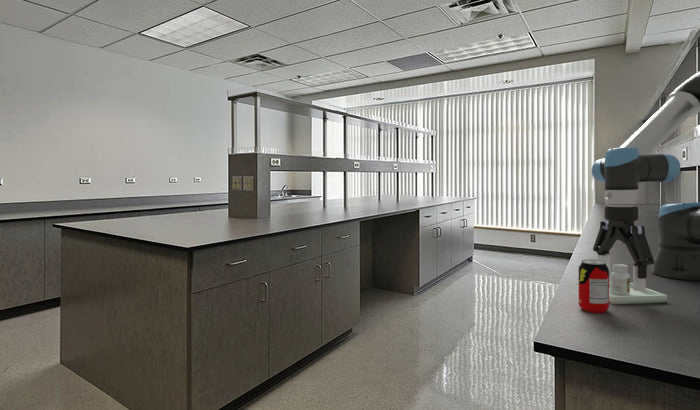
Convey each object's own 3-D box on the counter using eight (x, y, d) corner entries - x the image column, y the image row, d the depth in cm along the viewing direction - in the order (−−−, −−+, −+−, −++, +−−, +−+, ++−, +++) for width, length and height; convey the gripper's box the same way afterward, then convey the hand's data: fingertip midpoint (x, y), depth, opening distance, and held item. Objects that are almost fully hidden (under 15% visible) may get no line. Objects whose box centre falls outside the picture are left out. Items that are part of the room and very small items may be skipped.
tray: (627, 287, 115) (627, 281, 115) (666, 302, 101) (667, 295, 101) (579, 289, 115) (579, 283, 115) (612, 304, 101) (612, 297, 101)
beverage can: (606, 307, 99) (607, 259, 98) (610, 315, 93) (610, 264, 92) (577, 304, 102) (577, 258, 101) (579, 312, 96) (579, 263, 95)
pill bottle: (633, 295, 106) (633, 266, 105) (614, 295, 107) (614, 266, 106) (625, 291, 110) (625, 263, 109) (607, 290, 111) (607, 263, 110)
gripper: (579, 203, 119) (579, 273, 120) (641, 209, 94) (641, 297, 96) (604, 202, 119) (604, 272, 121) (673, 208, 94) (672, 296, 96)
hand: (620, 283), depth 108 cm, fingers open, 13 cm apart
